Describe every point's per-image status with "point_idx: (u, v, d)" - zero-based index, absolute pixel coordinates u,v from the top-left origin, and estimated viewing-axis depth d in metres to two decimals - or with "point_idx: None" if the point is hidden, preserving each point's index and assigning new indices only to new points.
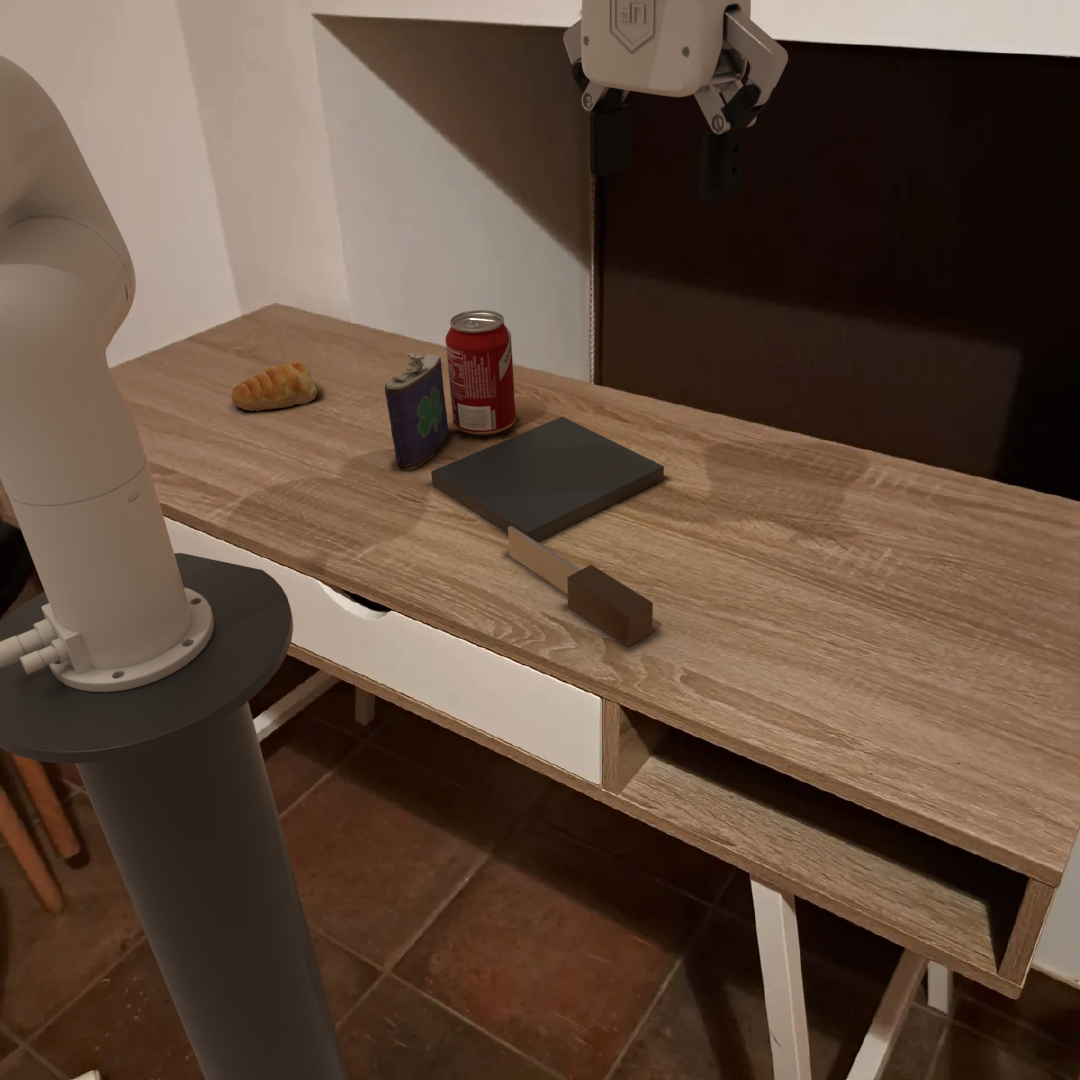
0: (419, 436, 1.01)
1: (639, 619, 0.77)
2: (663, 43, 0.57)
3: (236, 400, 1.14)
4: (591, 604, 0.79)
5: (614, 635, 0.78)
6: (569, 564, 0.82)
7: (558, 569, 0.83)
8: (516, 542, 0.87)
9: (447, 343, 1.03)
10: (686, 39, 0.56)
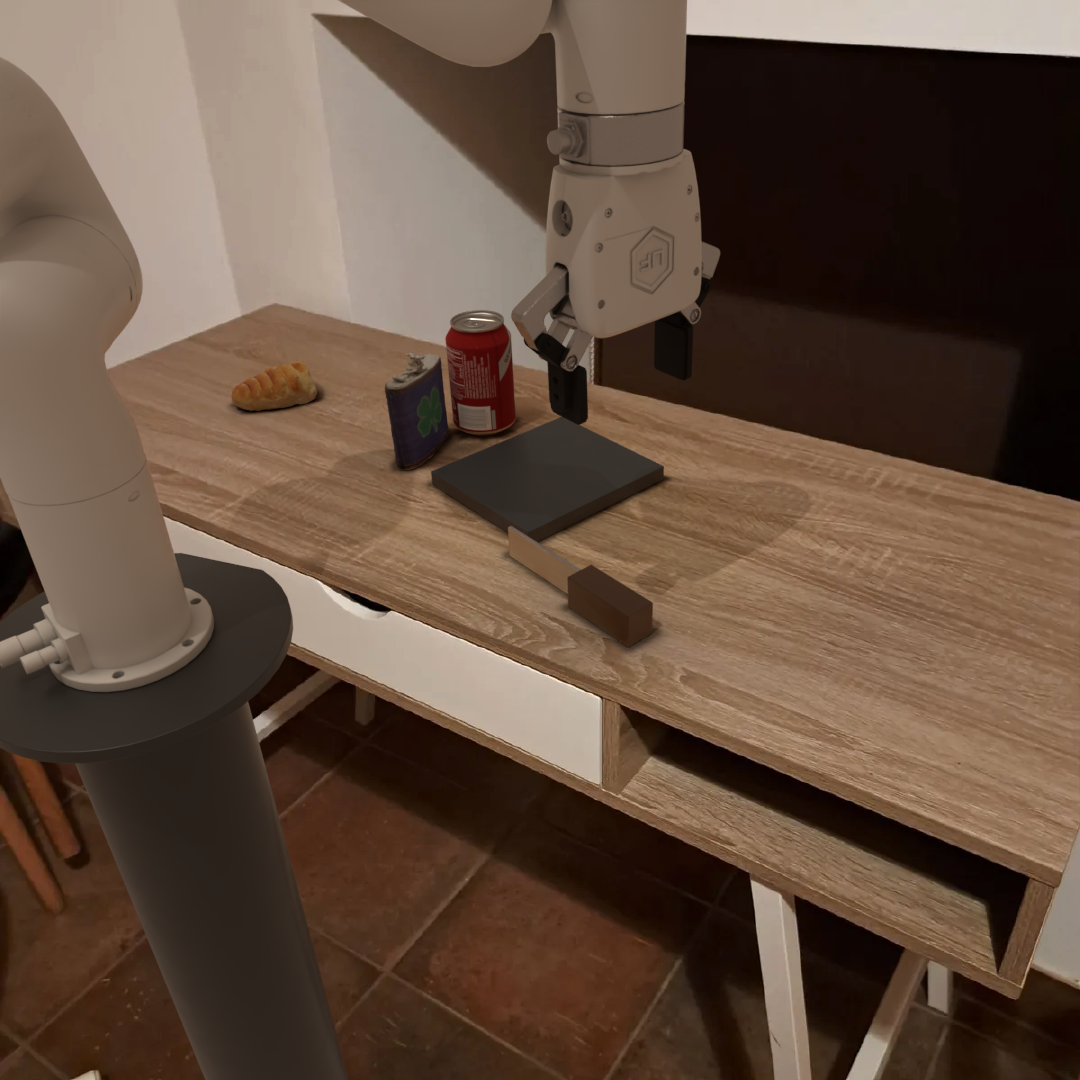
0: (419, 436, 1.01)
1: (639, 619, 0.77)
2: (679, 272, 0.65)
3: (236, 400, 1.14)
4: (591, 604, 0.79)
5: (614, 635, 0.78)
6: (569, 564, 0.82)
7: (558, 569, 0.83)
8: (516, 542, 0.87)
9: (447, 343, 1.03)
10: (696, 261, 0.66)
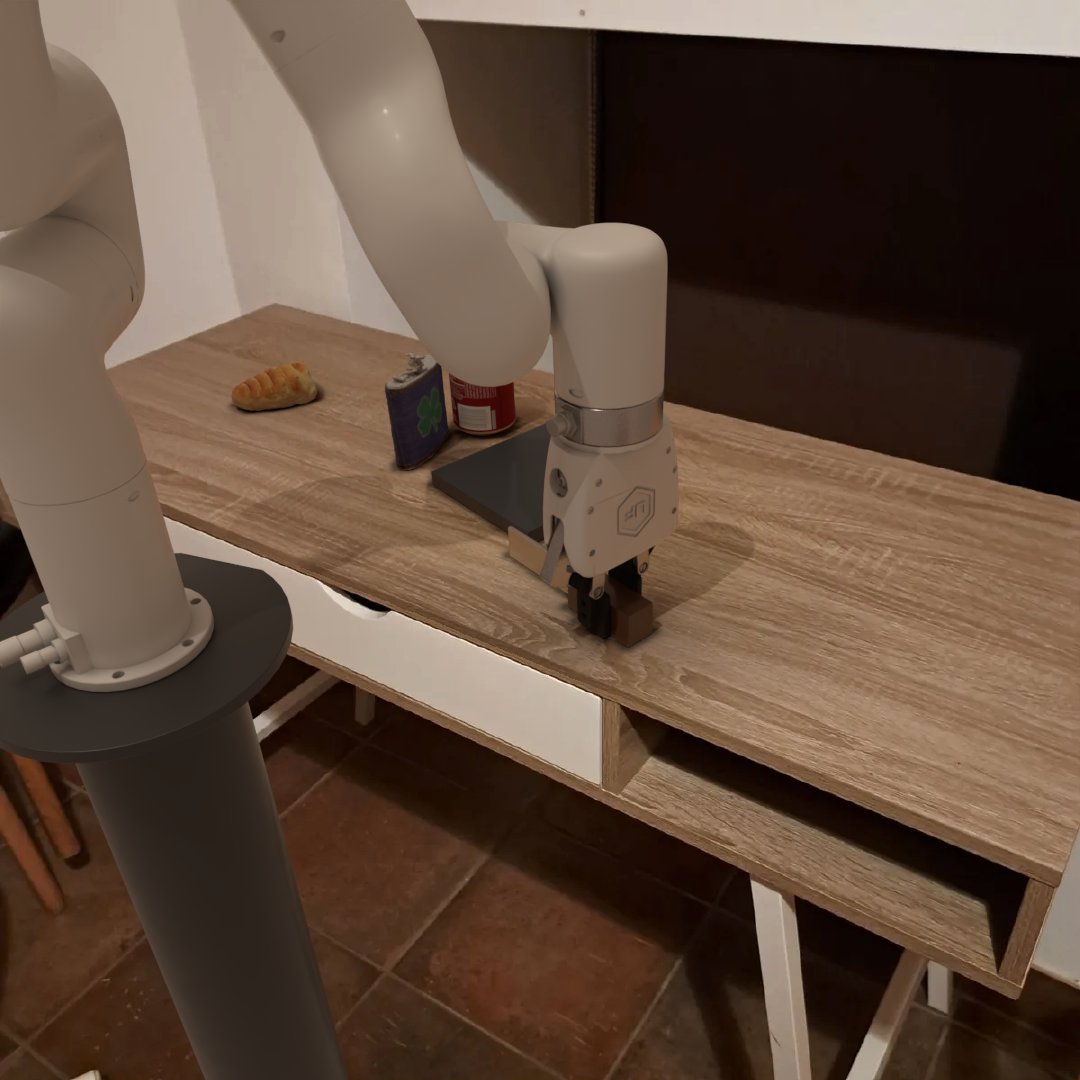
0: (419, 436, 1.01)
1: (639, 619, 0.77)
2: (659, 515, 0.74)
3: (236, 400, 1.14)
4: None
5: (614, 635, 0.78)
6: None
7: None
8: (516, 542, 0.87)
9: None
10: (674, 502, 0.75)
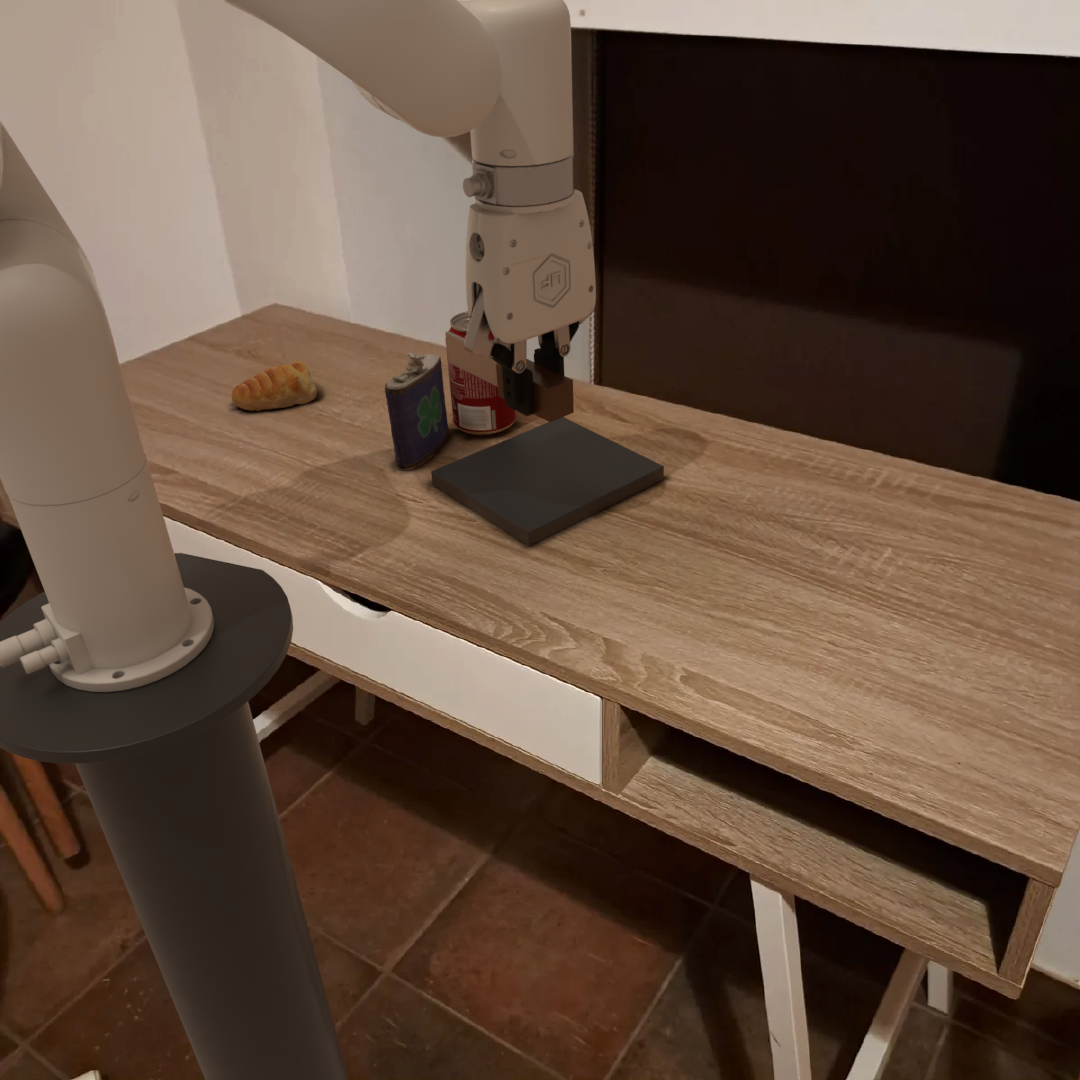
0: (419, 436, 1.01)
1: (559, 394, 0.82)
2: (576, 290, 0.80)
3: (236, 400, 1.14)
4: None
5: (538, 413, 0.84)
6: None
7: (489, 363, 0.88)
8: (453, 346, 0.92)
9: None
10: (590, 280, 0.80)
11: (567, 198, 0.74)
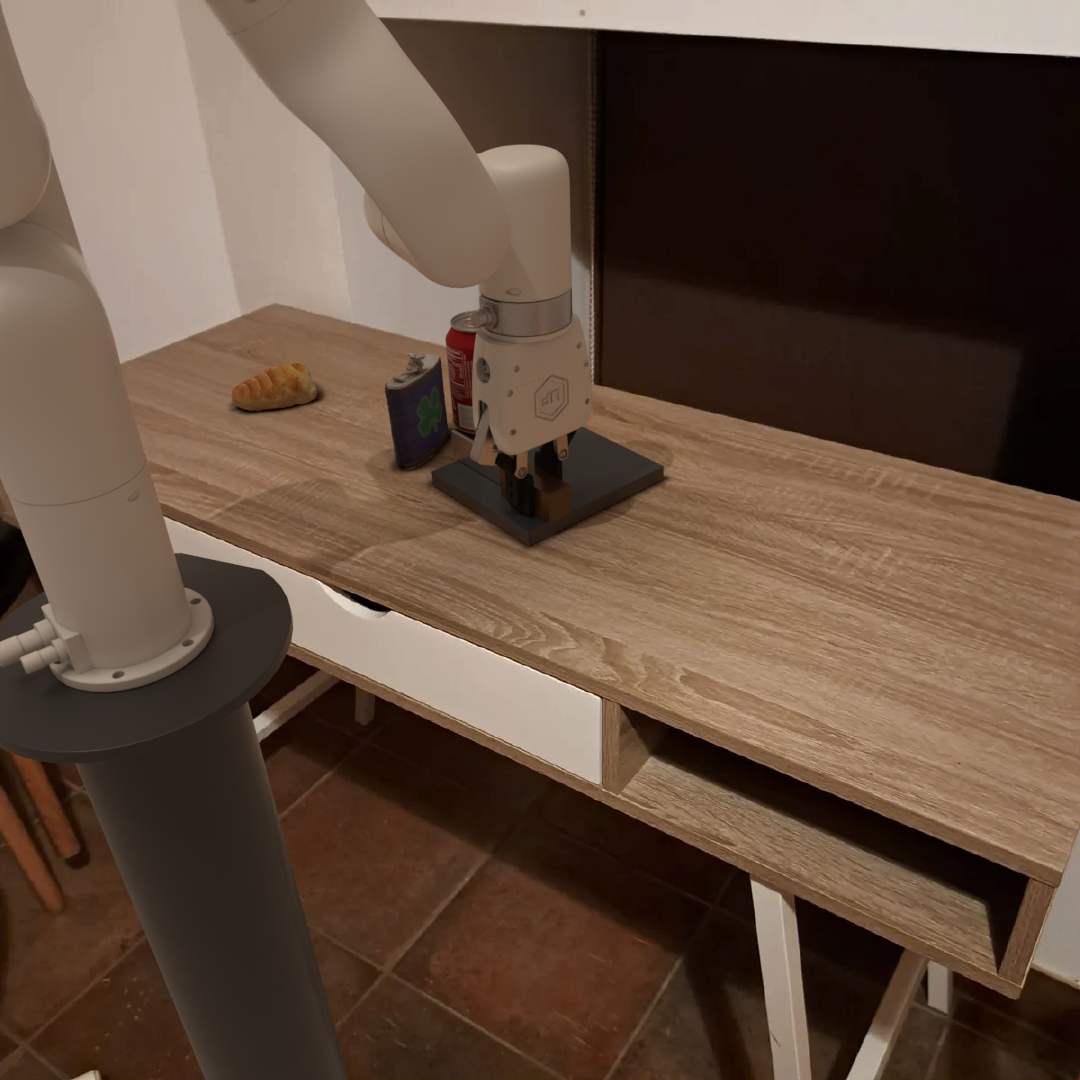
0: (419, 436, 1.01)
1: (558, 498, 0.89)
2: (573, 403, 0.86)
3: (236, 400, 1.14)
4: None
5: (538, 514, 0.90)
6: None
7: None
8: (458, 443, 0.99)
9: (447, 343, 1.03)
10: (586, 394, 0.87)
11: (566, 327, 0.81)
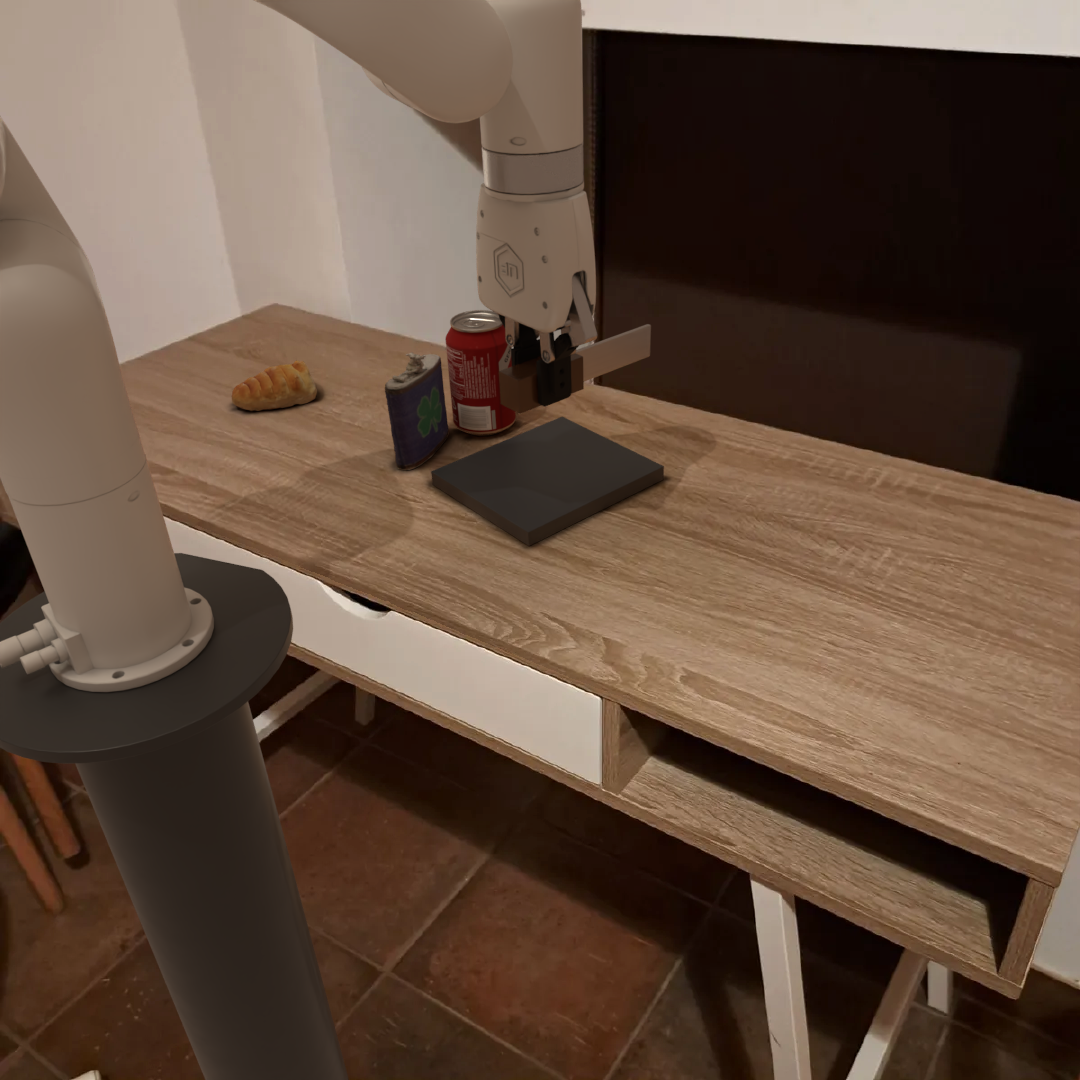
0: (419, 436, 1.01)
1: (507, 384, 0.83)
2: (530, 295, 0.77)
3: (236, 400, 1.14)
4: None
5: None
6: (583, 348, 0.86)
7: None
8: None
9: (447, 343, 1.03)
10: (544, 296, 0.76)
11: (506, 194, 0.73)
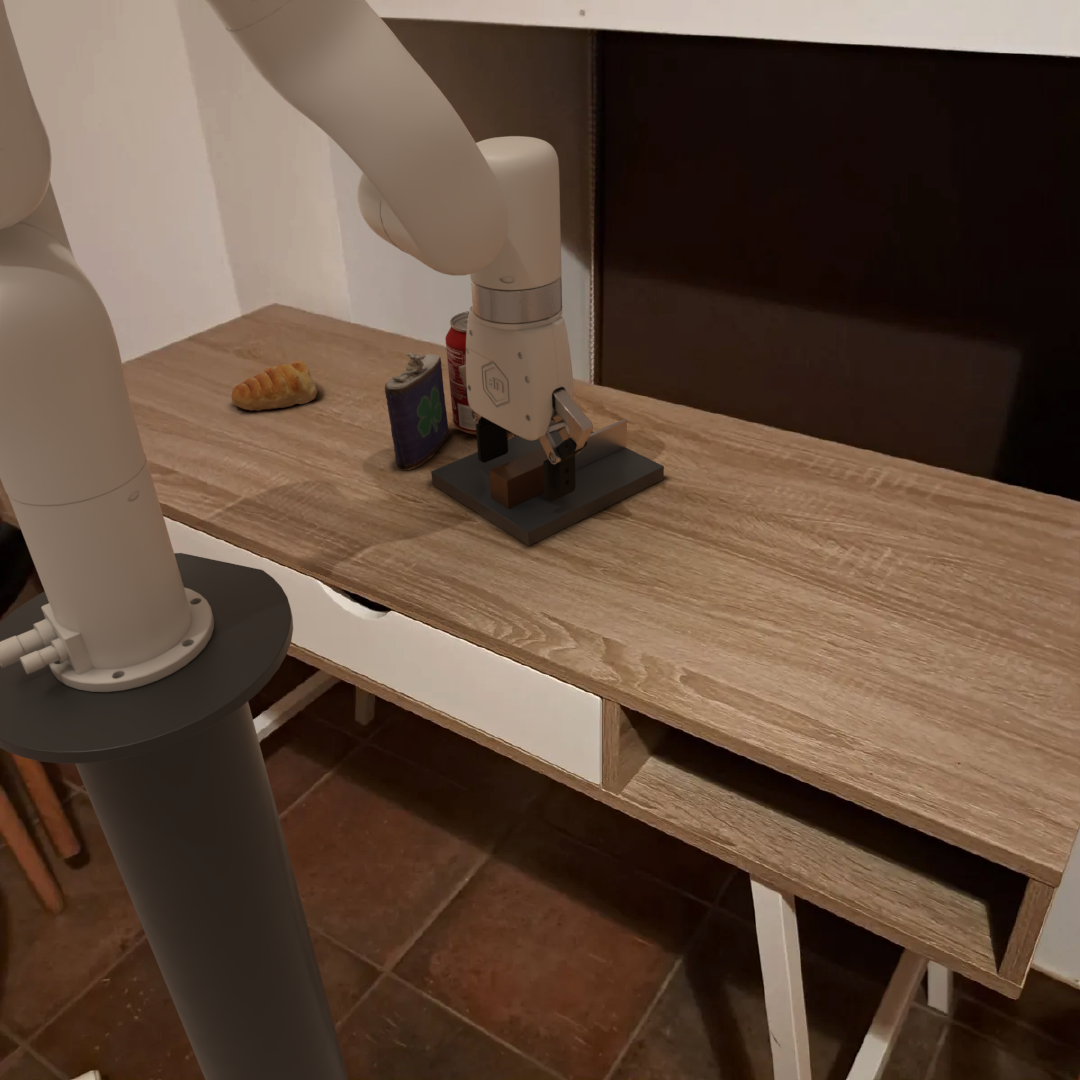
0: (419, 436, 1.01)
1: (497, 482, 0.92)
2: (514, 408, 0.86)
3: (236, 400, 1.14)
4: None
5: None
6: None
7: None
8: None
9: (447, 343, 1.03)
10: (527, 410, 0.85)
11: (493, 322, 0.82)
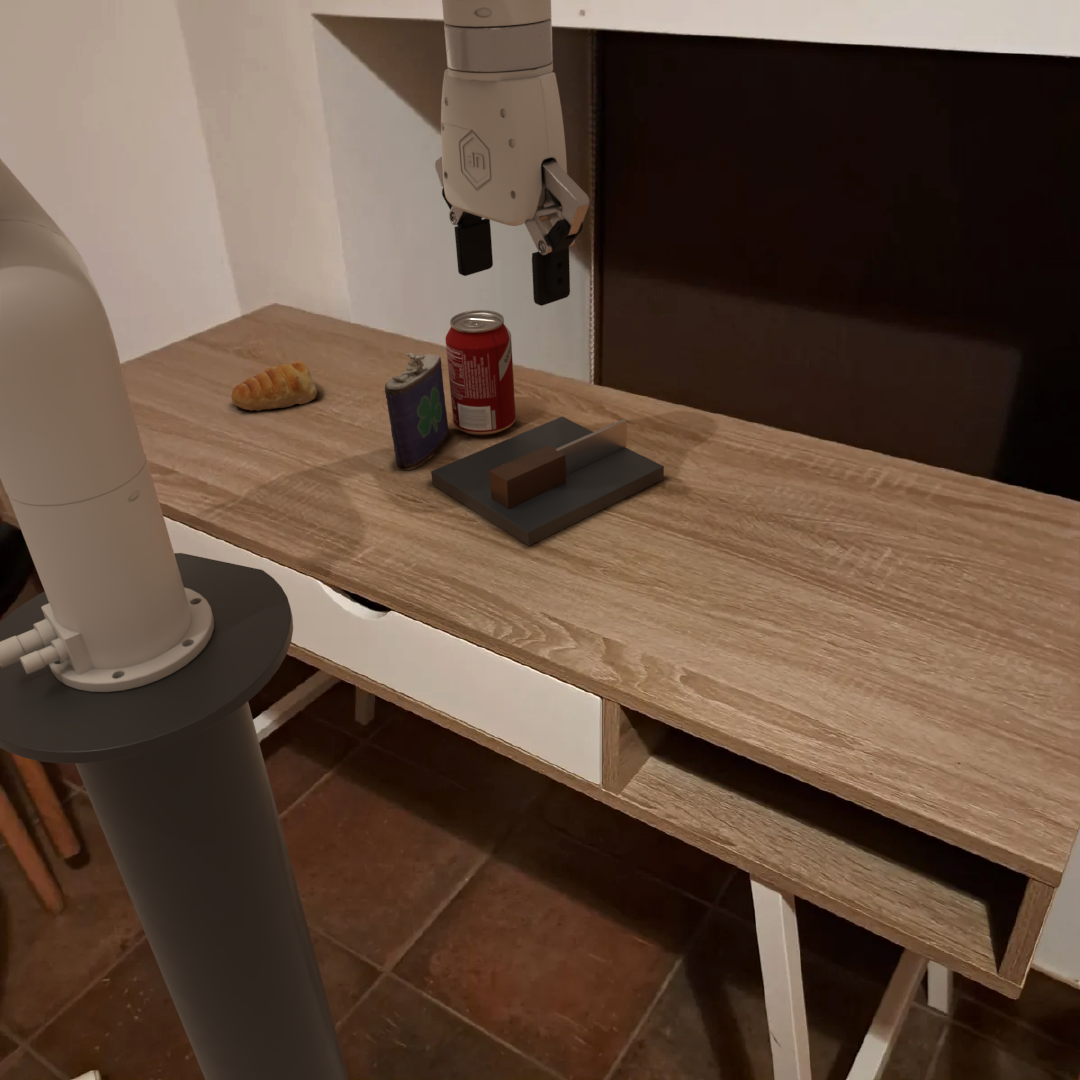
0: (419, 436, 1.01)
1: (497, 482, 0.92)
2: (497, 185, 0.73)
3: (236, 400, 1.14)
4: None
5: None
6: (565, 445, 0.95)
7: None
8: None
9: (447, 343, 1.03)
10: (512, 185, 0.72)
11: (470, 72, 0.69)
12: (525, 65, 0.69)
